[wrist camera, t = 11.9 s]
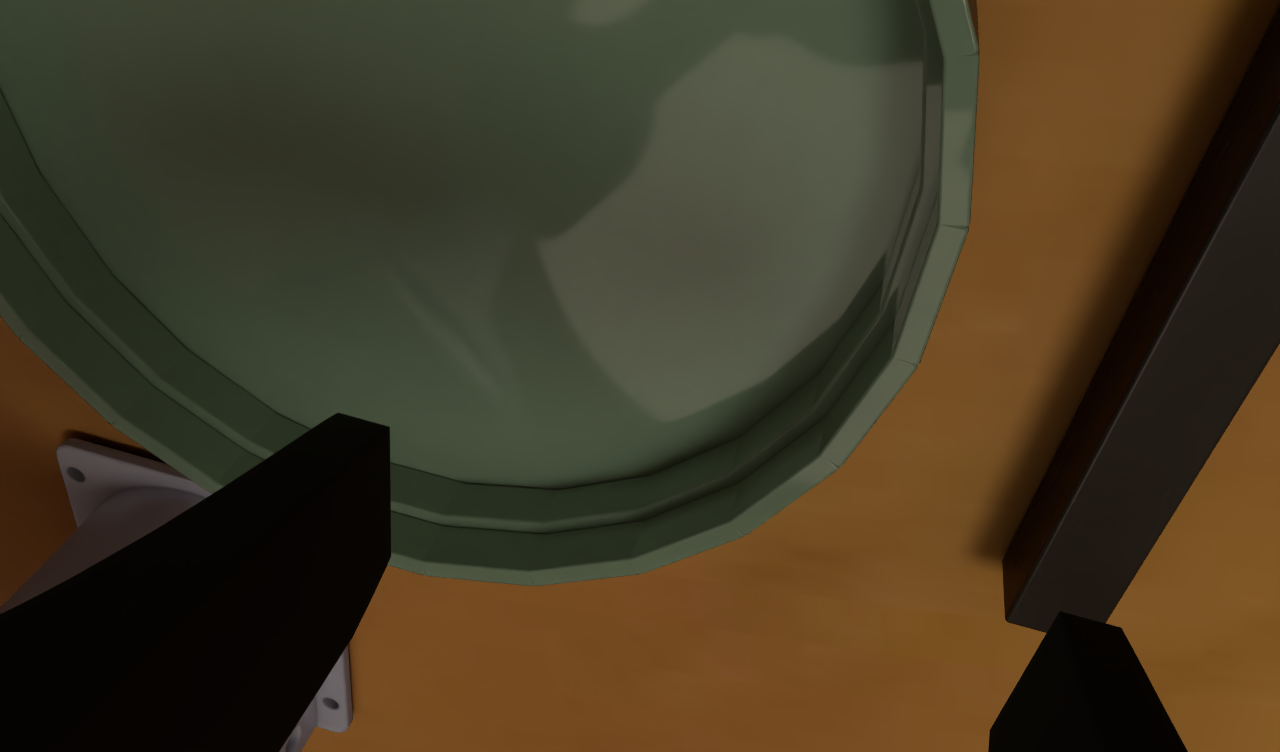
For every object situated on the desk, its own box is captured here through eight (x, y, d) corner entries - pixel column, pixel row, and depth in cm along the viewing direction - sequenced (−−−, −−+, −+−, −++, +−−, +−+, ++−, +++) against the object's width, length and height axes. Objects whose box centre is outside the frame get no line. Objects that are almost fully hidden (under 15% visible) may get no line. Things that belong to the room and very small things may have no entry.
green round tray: (819, 563, 24) (801, 685, 21) (83, 362, 26) (-21, 448, 23) (1186, -499, 12) (1251, -536, 10) (-179, -696, 15) (-443, -773, 12)
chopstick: (1589, -285, 13) (1668, -275, 11) (1084, 582, 22) (1093, 647, 21) (1434, -310, 13) (1493, -302, 12) (1000, 560, 23) (1003, 623, 21)
